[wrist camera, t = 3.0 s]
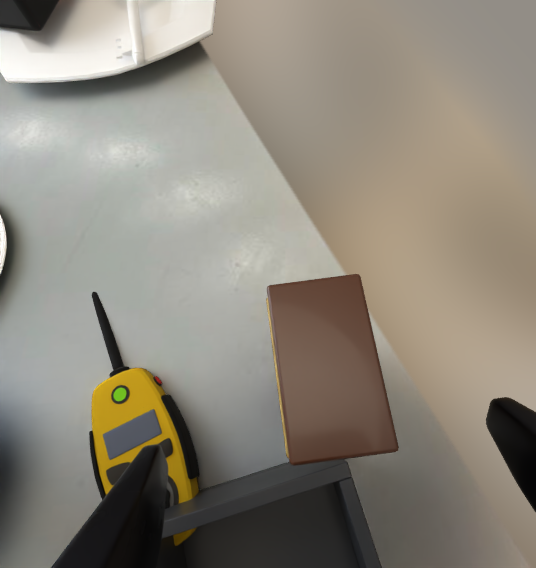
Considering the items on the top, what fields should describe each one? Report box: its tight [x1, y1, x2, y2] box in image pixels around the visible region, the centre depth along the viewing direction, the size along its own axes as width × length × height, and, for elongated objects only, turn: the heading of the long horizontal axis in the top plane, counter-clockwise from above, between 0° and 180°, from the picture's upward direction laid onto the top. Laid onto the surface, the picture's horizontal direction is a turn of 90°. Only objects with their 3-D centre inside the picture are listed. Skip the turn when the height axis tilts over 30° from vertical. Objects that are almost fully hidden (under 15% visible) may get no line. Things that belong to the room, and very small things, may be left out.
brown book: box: [266, 274, 399, 466], centre depth 11 cm, size 4×2×7 cm, turn 7°
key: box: [115, 0, 145, 65], centre depth 26 cm, size 12×1×4 cm
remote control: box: [89, 292, 199, 546], centre depth 19 cm, size 5×2×15 cm
